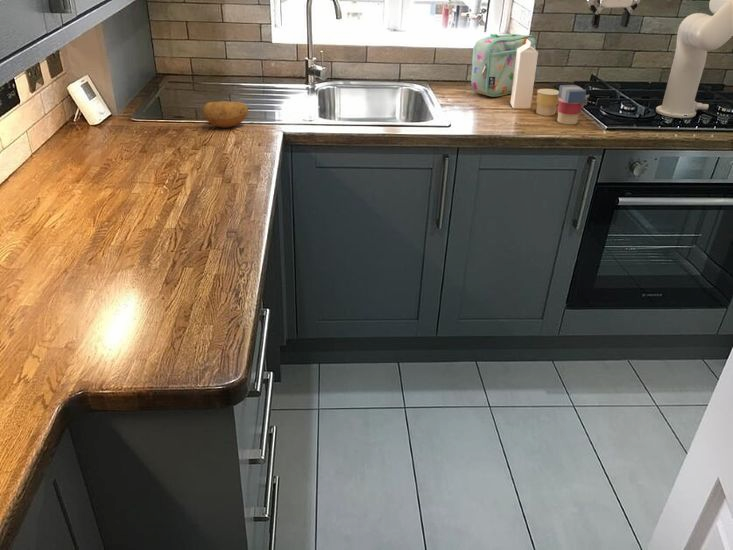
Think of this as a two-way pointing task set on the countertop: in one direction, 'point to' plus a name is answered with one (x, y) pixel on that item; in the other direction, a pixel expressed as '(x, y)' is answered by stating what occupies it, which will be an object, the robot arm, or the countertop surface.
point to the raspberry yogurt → (568, 112)
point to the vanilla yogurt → (547, 101)
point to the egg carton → (582, 103)
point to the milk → (524, 76)
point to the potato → (225, 113)
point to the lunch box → (496, 63)
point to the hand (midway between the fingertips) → (609, 26)
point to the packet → (572, 93)
